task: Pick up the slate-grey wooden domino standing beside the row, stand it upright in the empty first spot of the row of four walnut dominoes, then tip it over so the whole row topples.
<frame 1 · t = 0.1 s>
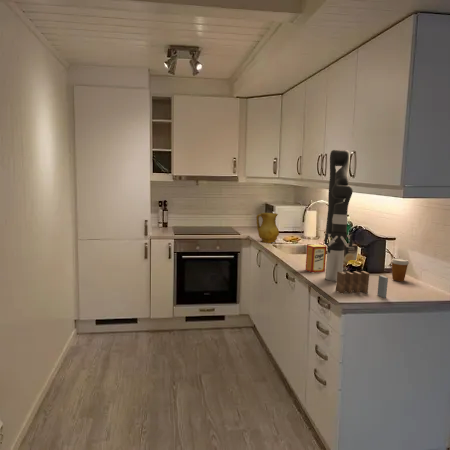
hand: (337, 253, 228), 17 cm above the worktop, tool pointing down, fingers open, 8 cm apart
domino 5: (339, 292, 218), on the worktop
coffee box: (347, 269, 271), on the worktop
disposable coffee cup: (398, 280, 249), on the worktop
domino 4: (347, 291, 219), on the worktop
domino 3: (355, 291, 220), on the worktop
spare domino: (381, 296, 214), on the worktop
pitcher: (267, 241, 366), on the worktop
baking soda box: (314, 271, 263), on the worktop
domino 2: (363, 291, 221), on the worktop
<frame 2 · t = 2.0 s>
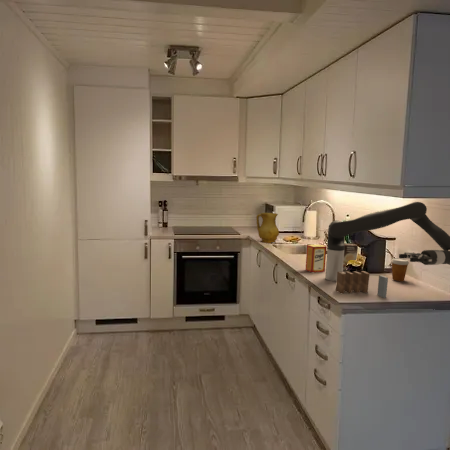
hand: (404, 257, 214), 19 cm above the worktop, tool horizontal, fingers open, 8 cm apart
nothing on the worktop moved.
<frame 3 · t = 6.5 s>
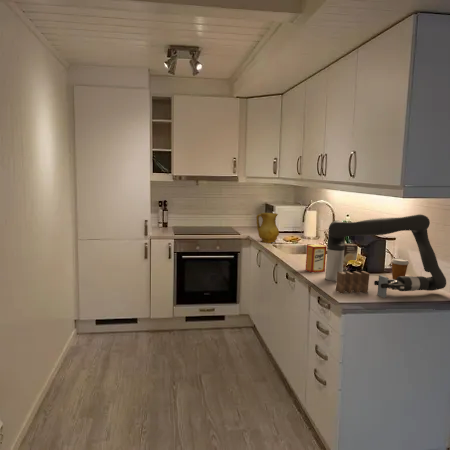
hand: (378, 284, 212), 6 cm above the worktop, tool horizontal, fingers closed on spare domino, 5 cm apart
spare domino: (381, 296, 214), on the worktop, touching gripper
everything else where it was.
when the fingers open (7 cm above the worktop, at t = 12.3 s): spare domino stays where it is, on the worktop.
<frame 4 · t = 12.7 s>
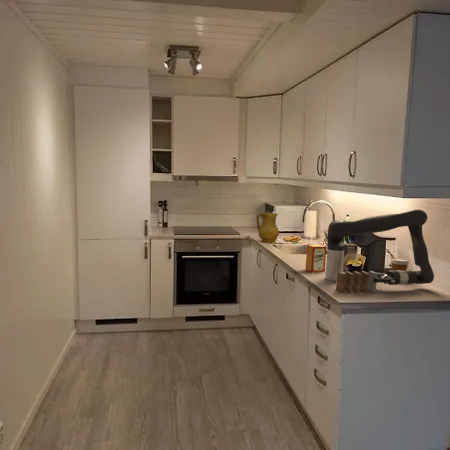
hand: (369, 278, 221), 7 cm above the worktop, tool horizontal, fingers open, 8 cm apart
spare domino: (371, 291, 222), on the worktop
everything else where it was.
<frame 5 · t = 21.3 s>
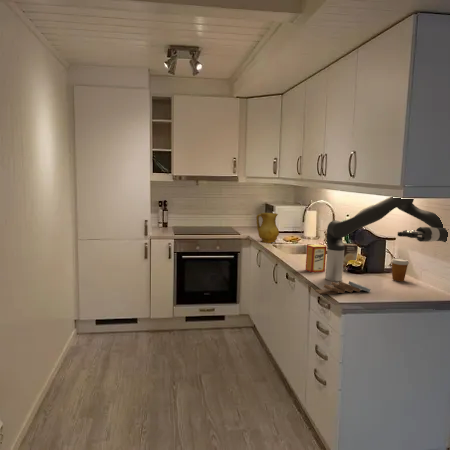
hand: (398, 234, 220), 30 cm above the worktop, tool horizontal, fingers closed
domino 5: (335, 291, 217), on the worktop, tilted 90°
domino 4: (340, 290, 217), point 1 cm above the worktop, tilted 75°, touching domino 3
domino 3: (349, 290, 219), point 1 cm above the worktop, tilted 70°, touching domino 2, domino 4
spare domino: (367, 289, 222), point 1 cm above the worktop, tilted 72°, touching domino 2
domino 2: (357, 289, 221), point 1 cm above the worktop, tilted 70°, touching domino 3, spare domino
everything else where it was.
at the end: domino 5 tilted 90°; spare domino tilted 72°; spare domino inside the target area (1.9 cm from its centre), point 0.8 cm above the worktop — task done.
